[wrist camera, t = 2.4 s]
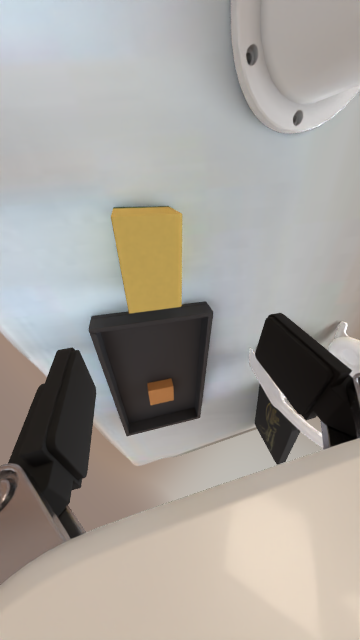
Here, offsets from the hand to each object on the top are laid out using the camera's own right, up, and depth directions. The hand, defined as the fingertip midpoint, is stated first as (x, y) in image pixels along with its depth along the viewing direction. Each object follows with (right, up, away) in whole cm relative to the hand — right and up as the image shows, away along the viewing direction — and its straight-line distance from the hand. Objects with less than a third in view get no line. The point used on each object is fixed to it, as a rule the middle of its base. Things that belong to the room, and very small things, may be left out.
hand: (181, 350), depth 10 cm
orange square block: (-3, -10, +23) cm, 25 cm away
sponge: (-3, +9, +10) cm, 14 cm away
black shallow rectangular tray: (-4, -7, +21) cm, 23 cm away
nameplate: (+20, -19, +38) cm, 46 cm away
